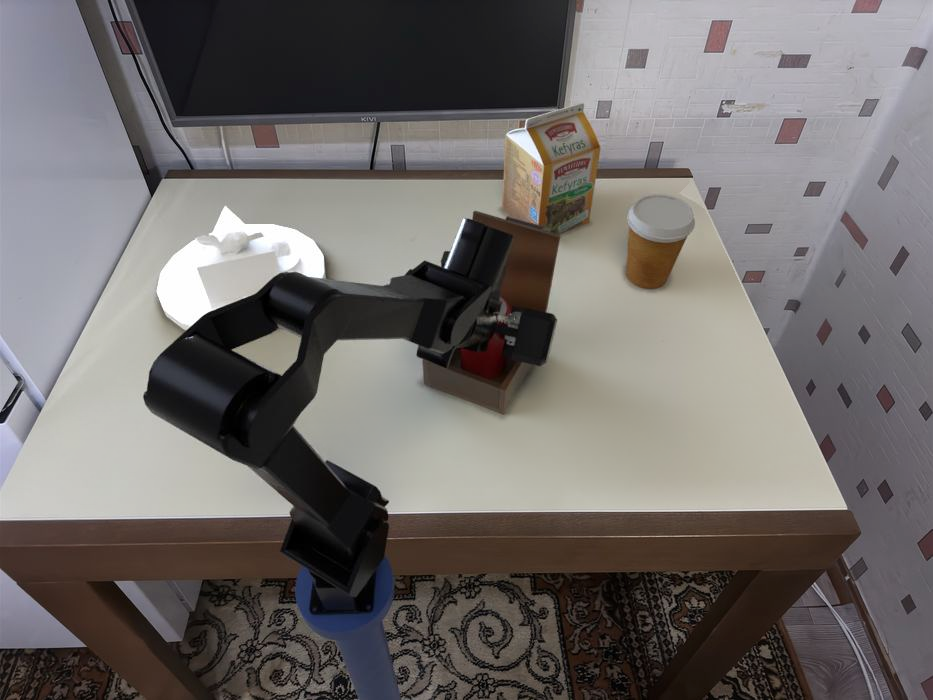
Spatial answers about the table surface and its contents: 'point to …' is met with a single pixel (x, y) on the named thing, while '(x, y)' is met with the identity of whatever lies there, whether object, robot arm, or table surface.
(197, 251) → the dish
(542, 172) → the milk carton
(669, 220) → the disposable coffee cup
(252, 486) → the table surface
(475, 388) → the chest
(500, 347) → the can
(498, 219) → the chest lid
